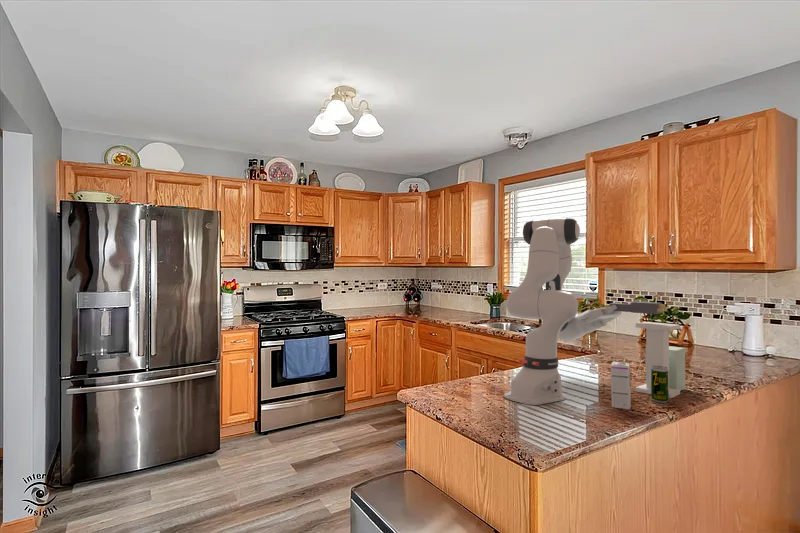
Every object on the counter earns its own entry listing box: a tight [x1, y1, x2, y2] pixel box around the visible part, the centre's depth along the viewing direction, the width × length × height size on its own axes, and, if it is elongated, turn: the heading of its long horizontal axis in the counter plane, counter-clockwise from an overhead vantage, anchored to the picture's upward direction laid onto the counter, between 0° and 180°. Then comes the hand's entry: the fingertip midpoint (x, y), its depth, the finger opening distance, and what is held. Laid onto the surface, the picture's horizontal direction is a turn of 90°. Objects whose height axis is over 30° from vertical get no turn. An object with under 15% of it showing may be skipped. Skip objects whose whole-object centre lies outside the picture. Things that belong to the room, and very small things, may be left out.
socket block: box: [645, 345, 686, 392], centre depth 172 cm, size 9×11×16 cm
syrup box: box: [610, 361, 632, 410], centre depth 148 cm, size 6×6×14 cm
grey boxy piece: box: [608, 301, 668, 315], centre depth 171 cm, size 20×6×4 cm, turn 39°
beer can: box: [650, 366, 670, 404], centre depth 154 cm, size 5×5×12 cm
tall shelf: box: [635, 321, 681, 399], centre depth 165 cm, size 9×12×26 cm
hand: (619, 306), depth 176 cm, fingers closed on grey boxy piece, 3 cm apart
